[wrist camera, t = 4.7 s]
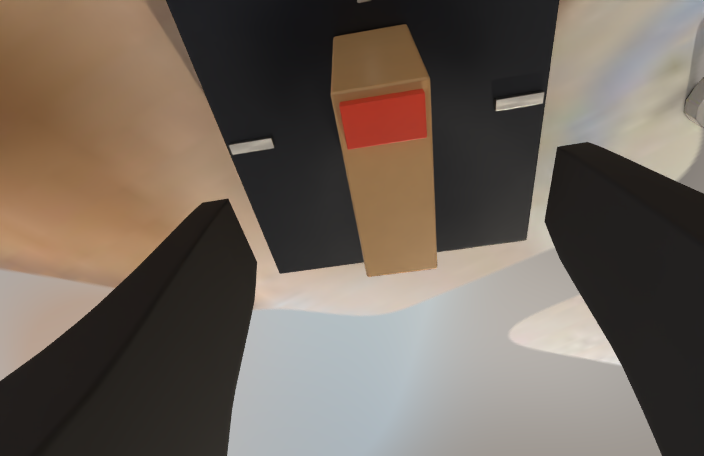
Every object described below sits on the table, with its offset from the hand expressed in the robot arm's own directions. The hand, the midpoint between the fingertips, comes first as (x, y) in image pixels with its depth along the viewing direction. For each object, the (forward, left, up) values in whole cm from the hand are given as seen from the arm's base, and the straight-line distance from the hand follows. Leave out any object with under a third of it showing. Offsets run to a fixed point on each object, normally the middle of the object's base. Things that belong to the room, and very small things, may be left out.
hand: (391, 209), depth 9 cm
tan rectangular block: (0, 0, -4) cm, 4 cm away
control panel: (0, 0, -8) cm, 8 cm away
